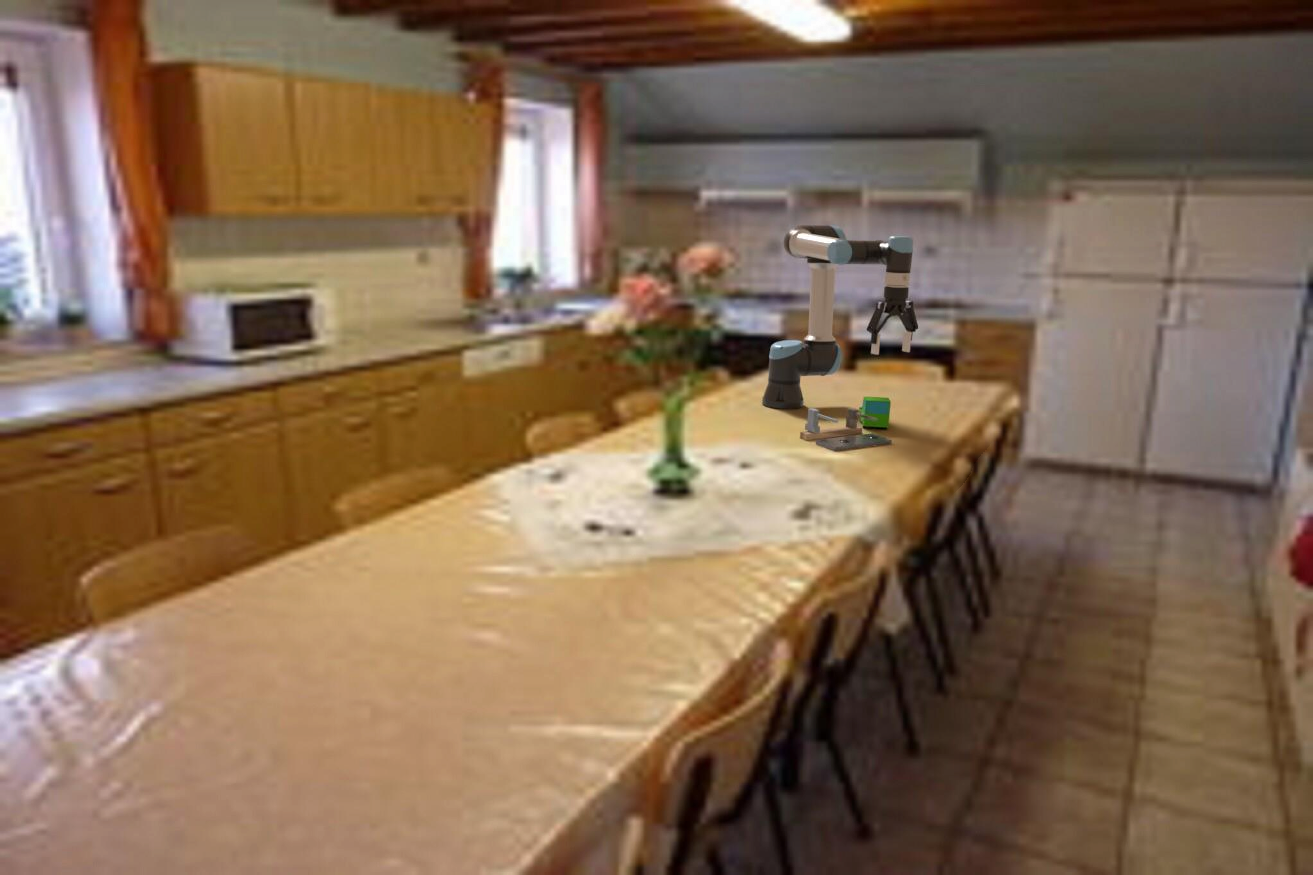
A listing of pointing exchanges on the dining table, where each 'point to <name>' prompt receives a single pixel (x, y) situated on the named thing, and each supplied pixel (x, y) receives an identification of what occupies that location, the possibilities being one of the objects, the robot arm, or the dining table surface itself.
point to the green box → (876, 411)
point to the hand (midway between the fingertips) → (890, 352)
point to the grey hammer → (815, 420)
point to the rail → (841, 431)
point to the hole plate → (853, 442)
